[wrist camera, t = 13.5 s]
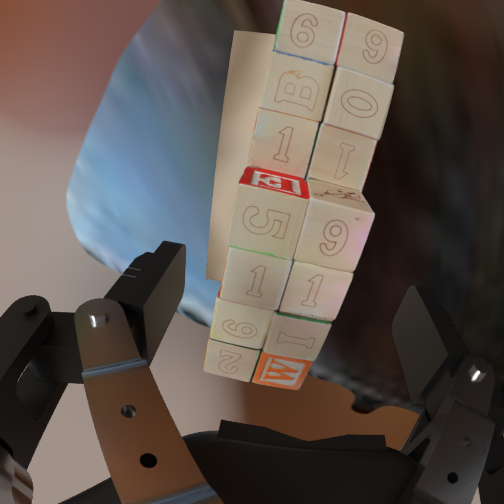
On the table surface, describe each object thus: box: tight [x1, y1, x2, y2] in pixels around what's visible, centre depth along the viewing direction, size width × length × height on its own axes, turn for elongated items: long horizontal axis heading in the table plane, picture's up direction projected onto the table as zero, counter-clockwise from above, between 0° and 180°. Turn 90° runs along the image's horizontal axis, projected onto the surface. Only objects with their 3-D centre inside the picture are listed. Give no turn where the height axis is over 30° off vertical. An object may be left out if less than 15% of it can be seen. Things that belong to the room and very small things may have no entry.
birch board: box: [206, 31, 364, 281], centre depth 26 cm, size 12×22×2 cm, turn 172°
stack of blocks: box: [203, 0, 404, 390], centre depth 19 cm, size 21×6×12 cm, turn 168°
